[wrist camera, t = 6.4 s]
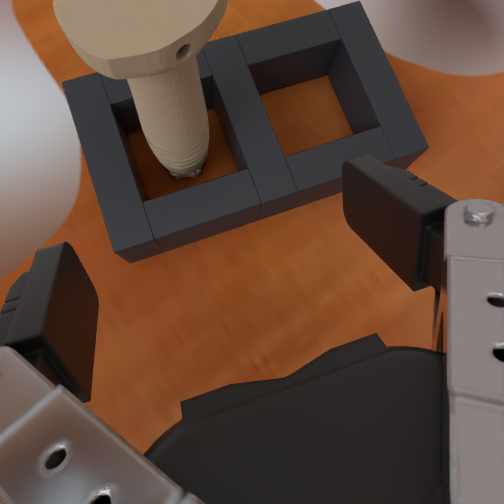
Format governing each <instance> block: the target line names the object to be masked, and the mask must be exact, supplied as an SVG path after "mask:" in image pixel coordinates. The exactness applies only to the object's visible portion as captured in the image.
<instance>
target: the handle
mask: <svg viewBox="0 0 504 504" xmlns="http://www.w3.org/2000/svg"><path fill="white" fill-rule="evenodd" d="M53 5H54V12H55V15H56V17H57V20H58V22H59V24H60V26H61V28H62V30H63V32H64V33H65V35H66V37H67V39H68V40H69V42H70V43H71V45H72V46H73V48H74V49H75V51H76V52H77V54H78V55H79V56H80V57H81V58H82V59H83V60H84V61H85V63H86V64H87V65H88V66H90V67H91V68H92V69H94V70H95V71H96V72H98V73H100V74H102V75H104V76H107V77H110V78H113V79H116V80H118V79H127V81H128V84H129V87H130V90H131V93H132V96H133V99H134V103H135V106H136V109H137V113H138V116H139V120H140V123H141V126H142V130H143V132H144V135H145V137H146V139H147V142H148V144H149V146H150V148H151V150H152V151H153V153H154V154H155V156H156V157H157V159H158V160H159V161H160V163H161V164H162V165H163V166H164V167H165V168H167V169H168V170H169V172H170V174H171V176H172V177H173V178H175V179H177V180H179V179H180V178H184V177H192V178H197V177H198V176H199V175H200V174H201V172H202V165H203V163H204V162H205V161H206V160H207V156H208V146H209V123H208V114H207V109H206V105H205V100H204V95H203V91H202V86H201V81H200V76H199V70H198V65H197V59H196V55H197V54H198V53H199V52H200V51H201V49H202V48H203V47H204V46H205V44H206V43H207V42H208V40H209V39H210V37H211V36H212V34H213V33H214V31H215V30H216V28H217V26H218V24H219V22H220V21H221V19H222V17H223V15H224V13H225V11H226V7H227V0H53Z"/></svg>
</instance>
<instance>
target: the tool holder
mask: <svg viewBox="0 0 504 504" xmlns="http://www.w3.org/2000/svg"><path fill="white" fill-rule="evenodd" d="M196 59H197V65H198V70H199V76H200V81H201V86H202V91H203V95H204V100H205V105H206V109H207V110H209V109H212V108H214V107H215V110H216V113H217V115H218V118H219V120H220V123H221V126H222V128H223V131H224V134H225V136H226V139H227V142H228V144H229V147H230V150H231V152H232V155H233V158H234V160H235V163H236V166H237V168H238V171H239V172H236V173H233V174H230V175H226V176H223V177H220V178H217V179H214V180H211V181H208V182H204V183H201V184H198V185H195V186H192V187H189V188H186V189H182V190H179V191H176V192H173V193H170V194H167V195H164V196H161V197H157V198H154V199H151V200H147V197H146V194H145V191H144V188H143V185H142V182H141V179H140V176H139V173H138V169H137V166H136V163H135V160H134V157H133V154H132V151H131V148H130V145H129V142H128V139H127V136H126V134H128V133H131V132H135V131H138V130H141V129H142V126H141V123H140V120H139V116H138V113H137V109H136V106H135V103H134V99H133V96H132V93H131V90H130V87H129V84H128V81H127V79H118V80H116V79H113V78H110V77H107V76H104V75H102V74H100V73H98V72H96V73H93V74H89V75H85V76H82V77H78V78H74V79H71V80H67V81H63V82H62V85H63V88H64V91H65V94H66V98H67V101H68V104H69V107H70V111H71V114H72V117H73V120H74V124H75V127H76V130H77V133H78V137H79V140H80V143H81V146H82V150H83V153H84V156H85V159H86V163H87V166H88V169H89V172H90V176H91V179H92V182H93V185H94V189H95V192H96V195H97V198H98V202H99V205H100V208H101V211H102V215H103V218H104V221H105V224H106V228H107V231H108V234H109V237H110V241H111V244H112V247H113V250H114V252H115V253H116V254H118V255H119V256H121V257H122V258H124V259H125V260H127V261H128V262H130V263H132V262H135V261H138V260H141V259H144V258H147V257H150V256H153V255H156V254H159V253H162V252H164V251H168V250H171V249H174V248H177V247H180V246H183V245H186V244H189V243H192V242H195V241H198V240H200V239H203V238H206V237H209V236H212V235H215V234H218V233H221V232H224V231H227V230H230V229H233V228H236V227H239V226H242V225H245V224H248V223H251V222H254V221H256V220H260V219H263V218H266V217H269V216H272V215H275V214H278V213H281V212H284V211H286V210H289V209H293V208H295V207H298V206H301V205H304V204H307V203H310V202H313V201H316V200H319V199H322V198H325V197H328V196H331V195H334V194H337V193H340V192H343V190H342V165H343V163H344V162H345V161H349V160H352V159H356V158H359V157H362V156H366V155H371V156H373V157H374V158H376V159H377V160H379V161H381V162H382V163H384V164H385V165H387V166H393V167H397V168H401V169H406V168H407V167H408V166H409V165H410V164H411V163H413V162H414V161H415V160H416V159H417V158H418V157H419V156H420V155H421V154H423V153H424V152H425V151H426V150H427V149H428V148H429V147H428V144H427V142H426V140H425V138H424V136H423V134H422V132H421V130H420V127H419V125H418V123H417V121H416V119H415V117H414V115H413V113H412V110H411V108H410V106H409V104H408V102H407V100H406V98H405V96H404V93H403V91H402V89H401V87H400V85H399V83H398V81H397V79H396V77H395V74H394V72H393V70H392V68H391V66H390V64H389V62H388V60H387V57H386V55H385V53H384V51H383V49H382V47H381V45H380V43H379V41H378V38H377V36H376V34H375V32H374V30H373V28H372V26H371V24H370V21H369V19H368V17H367V15H366V13H365V11H364V9H363V7H362V5H361V2H360V1H357V2H354V3H350V4H346V5H343V6H339V7H336V8H332V9H329V10H325V11H321V12H317V13H314V14H310V15H306V16H303V17H299V18H295V19H292V20H288V21H284V22H281V23H277V24H273V25H270V26H266V27H262V28H259V29H255V30H251V31H248V32H244V33H240V34H237V35H236V36H235V35H233V36H229V37H225V38H222V39H218V40H214V41H211V42H207V43H206V44H205V46H204V47H203V48H202V49H201V51H200V52H199V53H198V54H197V55H196ZM324 75H328V77H329V79H330V81H331V84H332V86H333V88H334V91H335V93H336V95H337V97H338V100H339V102H340V104H341V107H342V109H343V111H344V113H345V116H346V118H347V120H348V123H349V125H350V127H351V129H352V132H353V134H354V135H352V136H349V137H346V138H342V139H339V140H336V141H333V142H330V143H327V144H324V145H320V146H317V147H314V148H311V149H308V150H305V151H302V152H298V153H295V154H292V155H289V156H286V157H285V158H284V155H283V153H282V150H281V148H280V145H279V143H278V140H277V138H276V135H275V133H274V130H273V128H272V125H271V123H270V120H269V118H268V115H267V113H266V110H265V108H264V105H263V103H262V100H261V98H260V95H259V94H263V93H266V92H270V91H273V90H276V89H280V88H283V87H287V86H290V85H293V84H297V83H300V82H304V81H307V80H310V79H314V78H317V77H320V76H324Z"/></svg>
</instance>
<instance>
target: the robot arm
mask: <svg viewBox="0 0 504 504" xmlns="http://www.w3.org/2000/svg"><path fill="white" fill-rule="evenodd" d="M342 190H343V210H344V215H345V218H346V221H347V223H348V225H349V226H350V228H351V229H352V230H353V231H354V232H355V233H356V234H357V235H358V236H359V237H360V238H361V239H362V240H363V241H364V242H365V243H366V244H367V245H368V246H369V247H370V248H371V249H372V250H373V251H374V252H375V253H376V254H377V255H378V256H379V257H380V258H381V259H382V260H383V261H384V262H385V263H386V264H387V265H388V266H389V267H390V268H391V269H392V270H393V271H394V272H395V273H396V274H397V275H398V276H399V277H400V278H401V279H402V280H403V281H404V282H405V283H406V284H407V285H408V286H409V287H410V288H411V289H412V290H413V291H417V290H420V289H423V288H426V287H429V286H432V287H433V288H434V289H435V292H434V301H433V326H432V350H430V349H424V348H418V347H408V346H391V347H386V345H385V344H384V343H383V341H382V340H381V339H380V337H379V336H378V335H377V333H375V334H372V335H369V336H366V337H364V338H361V339H358V340H355V341H352V342H349V343H347V344H344V345H341V346H338V347H335V348H332V349H330V350H328V351H327V352H325V353H324V354H322V355H321V356H319V357H317V358H316V359H314V360H313V361H311V362H310V363H308V364H307V365H305V366H303V367H302V368H300V369H299V370H297V371H296V372H294V373H293V374H291V375H289V376H287V377H284V378H278V379H270V380H261V381H253V382H245V383H236V384H230V385H227V386H224V387H221V388H218V389H216V390H213V391H210V392H207V393H204V394H201V395H199V396H196V397H193V398H190V399H187V400H184V401H182V402H180V403H181V410H182V417H183V419H182V420H180V421H179V422H177V423H176V424H174V425H173V426H172V427H171V428H169V429H168V430H167V431H166V432H164V433H163V434H162V435H161V436H160V437H159V438H158V439H157V440H156V441H155V442H154V443H153V444H152V445H151V446H150V448H149V449H148V450H147V451H146V452H145V453H144V455H142V454H141V453H140V452H139V451H138V450H137V449H135V448H134V447H133V446H132V445H131V444H130V443H128V442H127V441H126V440H125V439H124V438H123V437H122V436H120V435H119V434H118V433H117V432H116V431H115V430H113V429H112V428H111V427H110V426H109V425H108V424H106V423H105V422H104V421H103V420H102V419H101V418H100V417H98V416H97V415H96V414H95V413H94V412H93V411H91V410H90V409H89V408H88V407H87V406H86V405H85V404H83V403H85V402H88V401H90V400H91V389H92V377H93V366H94V354H95V343H96V331H97V320H98V308H99V302H98V297H97V293H96V290H95V288H94V285H93V284H92V282H91V280H90V278H89V276H88V274H87V273H86V271H85V269H84V267H83V265H82V263H81V262H80V260H79V258H78V256H77V254H76V253H75V251H74V249H73V247H72V246H71V245H70V244H69V243H68V242H64V243H61V244H57V245H54V246H50V247H47V248H43V249H40V250H38V251H37V252H36V255H35V257H34V260H33V263H32V266H31V269H30V271H29V272H26V273H23V274H22V275H21V276H20V277H19V279H18V280H17V281H16V282H15V283H14V284H13V285H12V286H11V287H10V290H9V292H8V295H7V297H6V300H5V303H6V304H4V305H3V307H2V310H1V312H0V313H1V315H0V501H1V503H2V504H504V205H503V204H501V203H498V202H495V201H491V200H485V199H466V200H460V201H457V200H455V199H454V198H452V197H450V196H449V195H447V194H445V193H444V192H442V191H440V190H439V189H437V188H435V187H434V186H432V185H428V183H427V182H425V181H424V180H422V179H418V177H417V176H415V175H414V174H412V173H410V172H409V171H407V170H405V169H401V168H397V167H393V166H387V165H385V164H384V163H382V162H381V161H379V160H377V159H376V158H374V157H373V156H371V155H366V156H362V157H359V158H356V159H352V160H349V161H345V162H344V163H343V165H342Z"/></svg>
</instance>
